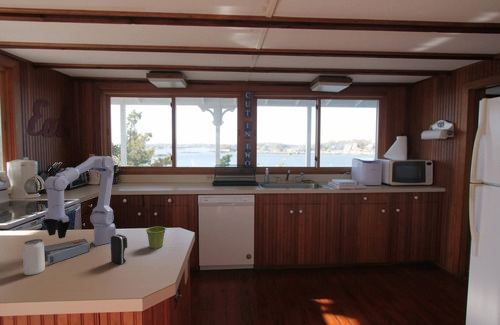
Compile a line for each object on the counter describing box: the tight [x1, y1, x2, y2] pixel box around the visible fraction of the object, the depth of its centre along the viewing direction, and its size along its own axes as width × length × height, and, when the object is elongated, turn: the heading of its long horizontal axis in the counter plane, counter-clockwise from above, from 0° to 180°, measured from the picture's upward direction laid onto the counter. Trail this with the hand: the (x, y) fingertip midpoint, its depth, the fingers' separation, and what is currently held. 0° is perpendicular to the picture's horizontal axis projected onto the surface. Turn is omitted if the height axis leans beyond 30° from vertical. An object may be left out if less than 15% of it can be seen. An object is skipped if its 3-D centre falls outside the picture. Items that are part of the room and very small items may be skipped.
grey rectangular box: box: [44, 238, 89, 261], centre depth 123 cm, size 17×8×4 cm, turn 132°
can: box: [22, 238, 46, 276], centre depth 104 cm, size 6×6×12 cm
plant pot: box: [145, 226, 167, 250], centre depth 132 cm, size 9×9×9 cm
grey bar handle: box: [47, 242, 91, 265], centre depth 118 cm, size 17×2×4 cm, turn 152°
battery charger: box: [110, 233, 128, 265], centre depth 114 cm, size 7×4×11 cm, turn 60°
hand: (57, 236), depth 115 cm, fingers open, 7 cm apart
